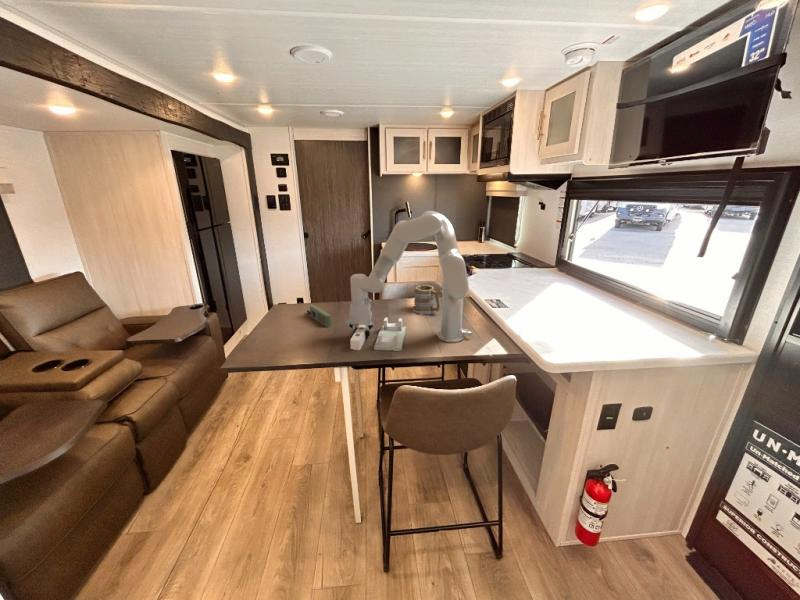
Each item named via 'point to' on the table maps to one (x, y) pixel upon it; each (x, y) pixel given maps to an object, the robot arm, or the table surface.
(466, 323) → the table surface
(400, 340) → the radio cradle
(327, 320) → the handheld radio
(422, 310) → the tankard
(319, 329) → the table surface
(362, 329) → the power strip
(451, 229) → the robot arm
